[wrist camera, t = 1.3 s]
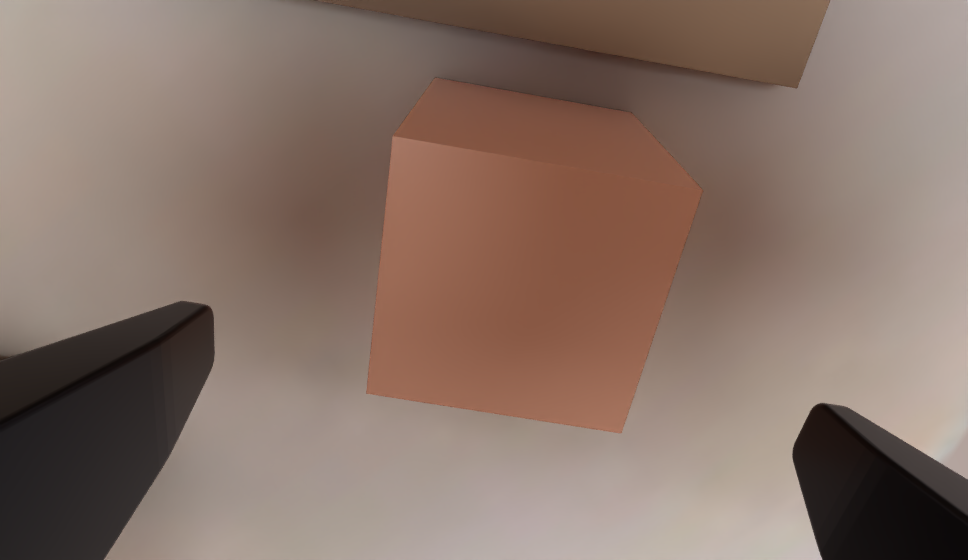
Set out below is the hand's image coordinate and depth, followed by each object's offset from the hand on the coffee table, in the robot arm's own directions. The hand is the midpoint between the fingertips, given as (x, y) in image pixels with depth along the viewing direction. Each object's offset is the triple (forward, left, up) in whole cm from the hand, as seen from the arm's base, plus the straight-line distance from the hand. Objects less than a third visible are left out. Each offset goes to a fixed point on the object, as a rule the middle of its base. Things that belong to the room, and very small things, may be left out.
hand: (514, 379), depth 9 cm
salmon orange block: (0, 0, -9) cm, 9 cm away
